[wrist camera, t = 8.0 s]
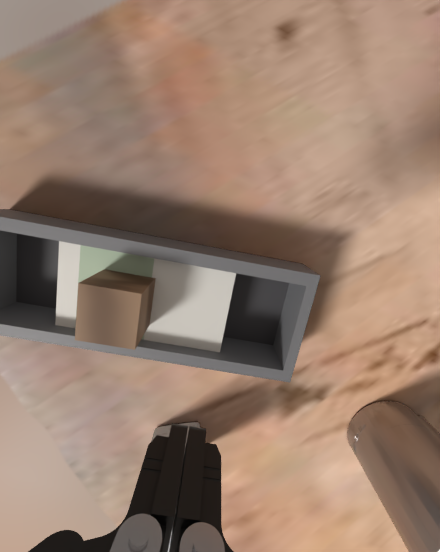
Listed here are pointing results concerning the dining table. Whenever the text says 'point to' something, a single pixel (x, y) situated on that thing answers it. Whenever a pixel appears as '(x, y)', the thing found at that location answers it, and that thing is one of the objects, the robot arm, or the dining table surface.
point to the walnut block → (114, 308)
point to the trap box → (157, 295)
